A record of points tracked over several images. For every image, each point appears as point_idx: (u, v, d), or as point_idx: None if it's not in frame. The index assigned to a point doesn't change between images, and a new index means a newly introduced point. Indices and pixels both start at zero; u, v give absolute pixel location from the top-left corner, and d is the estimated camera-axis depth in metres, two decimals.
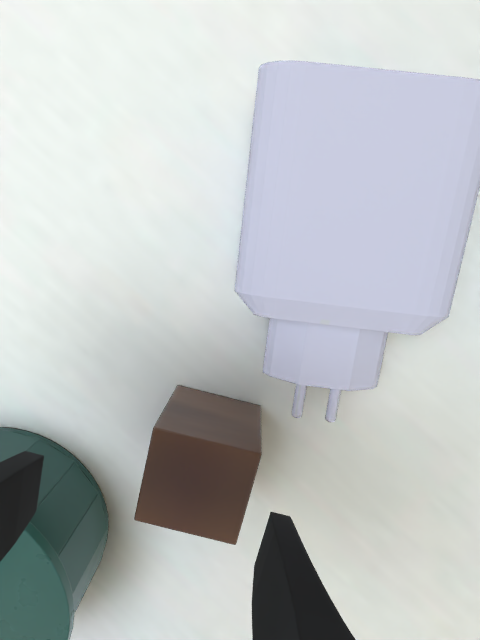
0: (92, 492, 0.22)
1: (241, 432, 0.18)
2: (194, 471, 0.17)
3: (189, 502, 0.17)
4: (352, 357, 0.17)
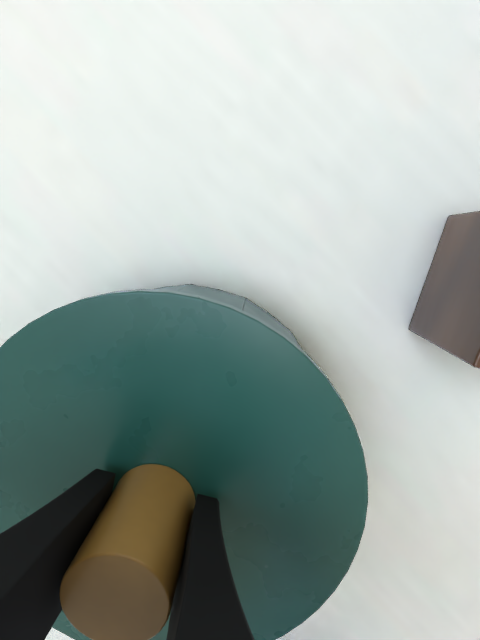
0: None
1: None
2: None
3: None
4: None
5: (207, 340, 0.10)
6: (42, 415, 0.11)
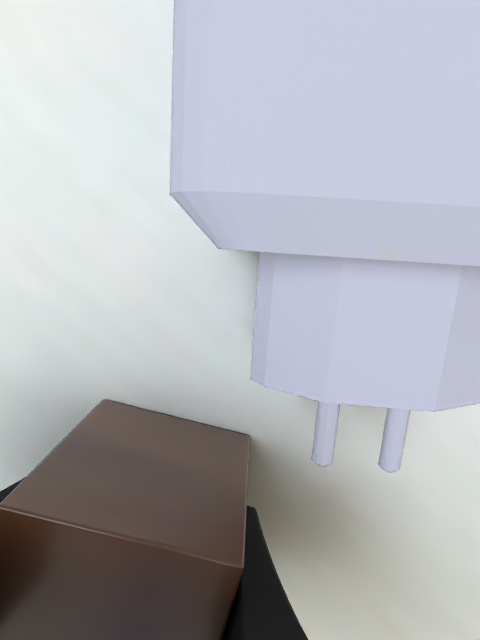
0: None
1: (205, 502, 0.09)
2: (94, 600, 0.07)
3: None
4: (442, 338, 0.08)
5: None
6: None
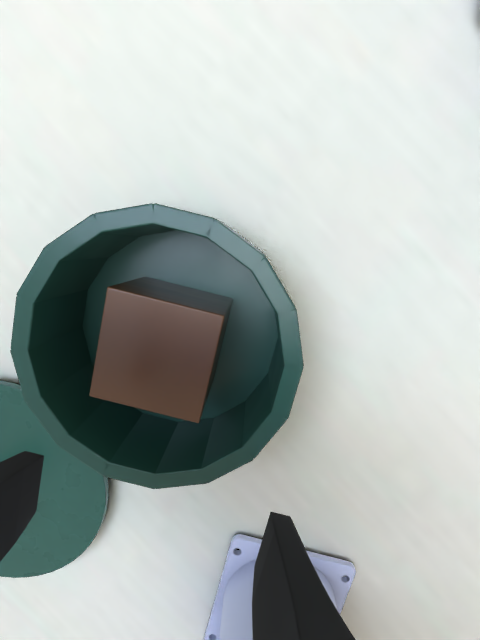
0: None
1: (206, 304, 0.16)
2: (151, 337, 0.15)
3: (147, 373, 0.16)
4: None
5: (14, 406, 0.21)
6: None
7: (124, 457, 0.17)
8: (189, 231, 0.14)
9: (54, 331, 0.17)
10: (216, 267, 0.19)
